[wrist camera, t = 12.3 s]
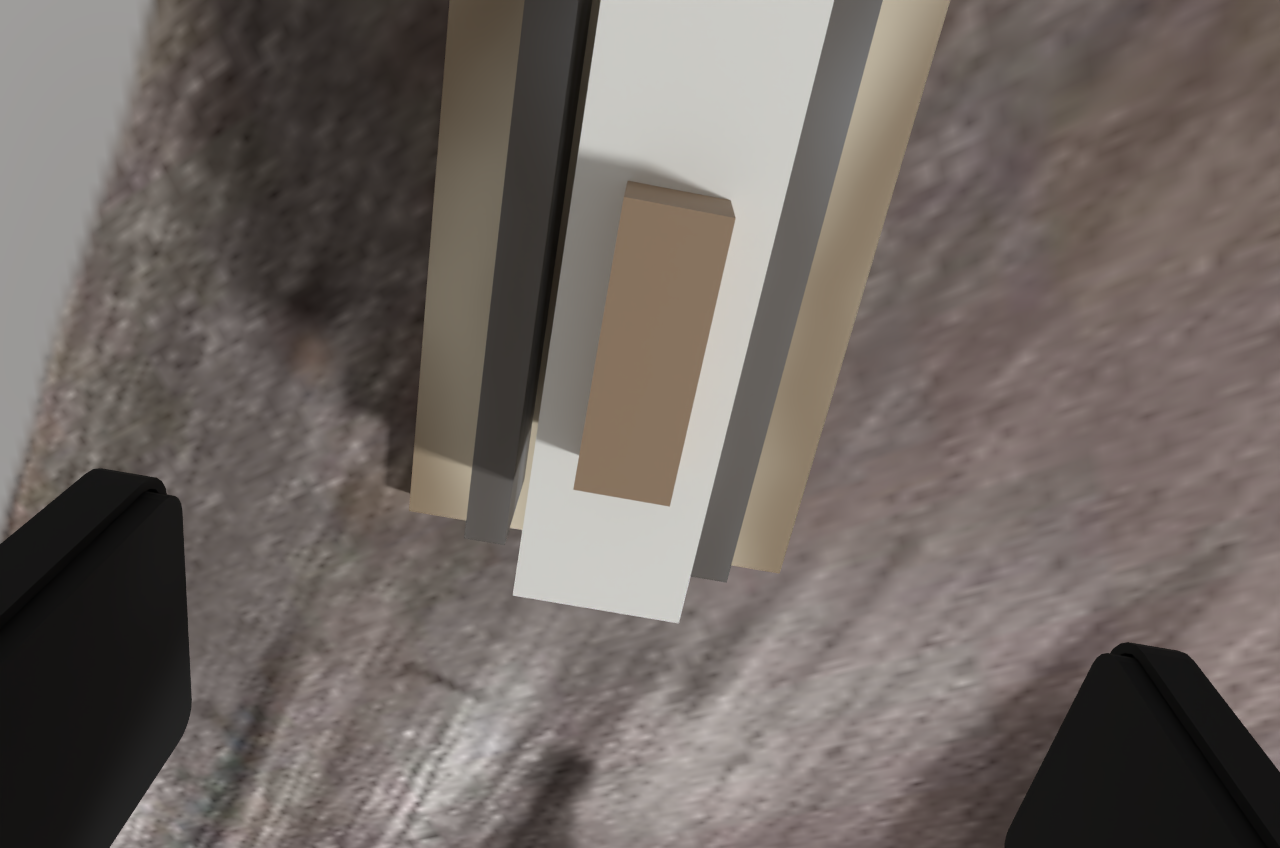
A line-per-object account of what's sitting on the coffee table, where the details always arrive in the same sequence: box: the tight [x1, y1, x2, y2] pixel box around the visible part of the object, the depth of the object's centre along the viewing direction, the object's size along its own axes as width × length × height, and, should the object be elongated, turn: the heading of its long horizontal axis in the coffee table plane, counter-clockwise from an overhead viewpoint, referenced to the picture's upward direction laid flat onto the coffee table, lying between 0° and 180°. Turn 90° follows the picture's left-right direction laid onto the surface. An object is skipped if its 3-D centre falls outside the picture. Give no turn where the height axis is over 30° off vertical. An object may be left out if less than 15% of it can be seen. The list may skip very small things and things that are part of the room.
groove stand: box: [409, 0, 950, 582], centre depth 25 cm, size 13×22×5 cm, turn 170°
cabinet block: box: [513, 0, 834, 623], centre depth 22 cm, size 4×14×10 cm, turn 170°
